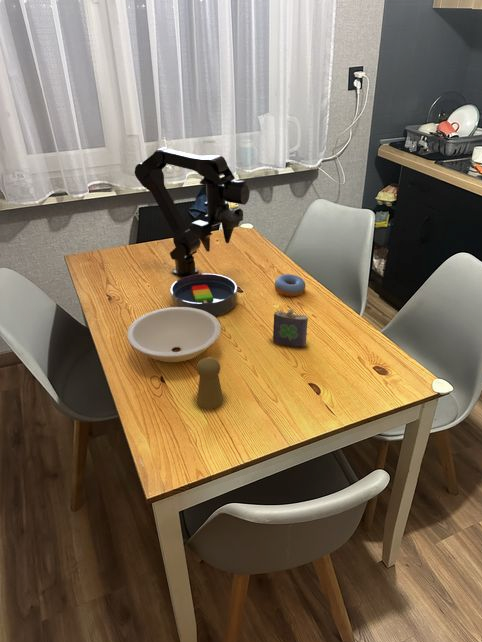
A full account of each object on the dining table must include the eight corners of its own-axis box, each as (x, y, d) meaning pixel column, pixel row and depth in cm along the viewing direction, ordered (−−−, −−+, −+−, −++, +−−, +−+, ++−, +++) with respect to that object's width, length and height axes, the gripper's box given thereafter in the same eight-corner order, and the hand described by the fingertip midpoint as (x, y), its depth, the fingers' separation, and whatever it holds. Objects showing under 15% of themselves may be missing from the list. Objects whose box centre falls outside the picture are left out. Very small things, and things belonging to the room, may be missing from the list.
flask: (306, 343, 135) (309, 309, 130) (304, 349, 133) (306, 315, 127) (274, 338, 137) (275, 304, 132) (271, 343, 135) (272, 309, 129)
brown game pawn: (197, 392, 117) (194, 354, 111) (223, 391, 117) (221, 353, 112) (196, 409, 112) (193, 370, 106) (223, 408, 112) (222, 369, 106)
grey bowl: (145, 388, 118) (141, 366, 114) (120, 339, 136) (116, 318, 132) (236, 362, 127) (236, 340, 124) (202, 319, 145) (200, 299, 142)
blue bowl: (158, 303, 153) (156, 289, 150) (204, 281, 166) (203, 268, 164) (205, 326, 142) (204, 310, 140) (250, 300, 156) (250, 286, 153)
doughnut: (310, 294, 159) (311, 282, 157) (283, 301, 156) (283, 288, 153) (295, 282, 167) (296, 269, 164) (269, 287, 163) (269, 275, 161)
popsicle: (207, 288, 161) (207, 283, 160) (217, 311, 149) (217, 305, 148) (190, 290, 159) (190, 285, 158) (199, 313, 147) (199, 308, 146)
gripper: (214, 212, 142) (216, 262, 150) (255, 197, 154) (255, 245, 163) (187, 204, 148) (190, 253, 156) (228, 191, 160) (229, 236, 169)
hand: (217, 247), depth 161 cm, fingers open, 9 cm apart
